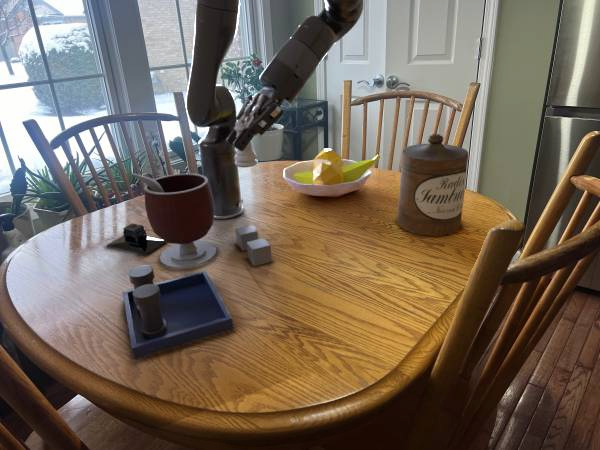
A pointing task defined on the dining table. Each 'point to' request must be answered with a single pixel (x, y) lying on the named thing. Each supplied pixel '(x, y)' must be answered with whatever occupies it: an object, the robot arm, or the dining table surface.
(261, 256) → the grey block near
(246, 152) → the rook chess piece
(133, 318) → the tray
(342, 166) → the fruit bowl
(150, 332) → the dark grey cylinder
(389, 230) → the dining table surface
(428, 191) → the wooden container
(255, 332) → the dining table surface
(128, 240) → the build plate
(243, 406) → the dining table surface
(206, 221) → the mate gourd
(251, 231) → the grey block far
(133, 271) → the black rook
